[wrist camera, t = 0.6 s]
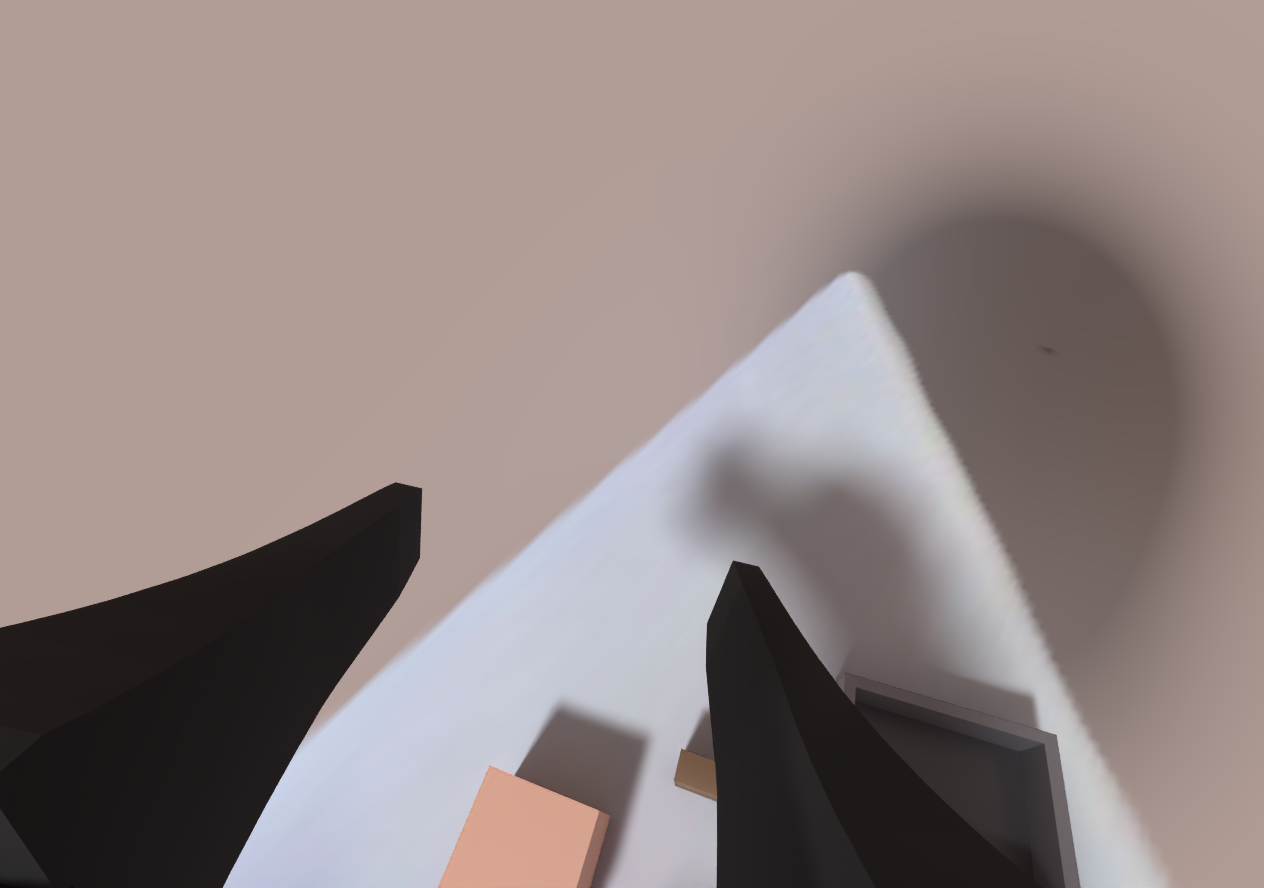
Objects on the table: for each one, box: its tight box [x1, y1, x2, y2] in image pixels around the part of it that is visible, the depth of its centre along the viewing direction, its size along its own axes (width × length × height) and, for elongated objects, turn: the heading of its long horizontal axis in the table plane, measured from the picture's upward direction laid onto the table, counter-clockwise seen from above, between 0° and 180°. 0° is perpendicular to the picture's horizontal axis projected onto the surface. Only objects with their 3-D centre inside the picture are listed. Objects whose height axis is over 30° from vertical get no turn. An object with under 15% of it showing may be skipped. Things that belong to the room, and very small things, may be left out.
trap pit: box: [836, 673, 1080, 888], centre depth 22 cm, size 6×8×2 cm
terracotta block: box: [438, 766, 611, 888], centre depth 21 cm, size 5×5×4 cm
